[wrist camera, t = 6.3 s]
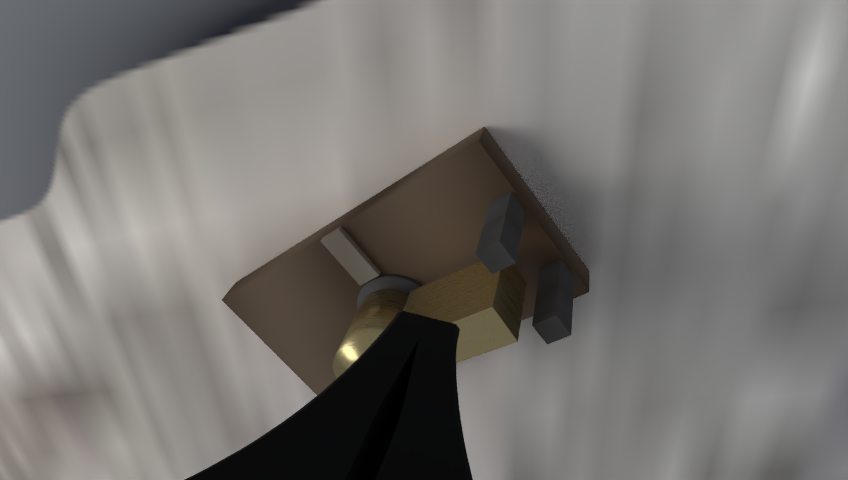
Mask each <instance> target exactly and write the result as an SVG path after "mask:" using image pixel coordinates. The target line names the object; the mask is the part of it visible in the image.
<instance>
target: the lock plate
mask: <svg viewBox="0 0 848 480" xmlns="http://www.w3.org/2000/svg"><path fill="white" fill-rule="evenodd" d="M479 261H482V263H483V264H484V265H485V266H486V268H487V269H488V270H489V271H490V273H491V274H494V273H496V272H498V271H500V270H502V269H504V268H506V267H508V266H511V265H513V264H514V265H515V266H516V267H517V269H518V270H519V272H520V273H521V275H522V276H523V278H524V279H525V281H526V282H527V284H526V290H525V297H524V303H523V310H522V316H521V320H524V319H526V318H528V317H531V316H533V315H534V316H533V324H532V326H533V327H534V328H535V330H536V331H537V332H538V333H539V335H540V336H541V337H542V338H543V340H544V341H545V342H546V343H547V344H549V343H552V342H554V341H557V340H559V339H562V338H564V337H567V336H570V335H571V329H572V308H573V298H576V297H578V296H580V295H583V294H585V293H587V292H589V271H588V269H587V268H586V267H585V265H584V264H583V262H582V261H581V260H580V258H579V257H578V256H577V254H576V253H575V251H574V250H573V249H572V247H571V246H570V244H569V243H568V242H567V240H566V239H565V238H564V236H563V235H562V233H561V232H560V231H559V229H558V228H557V226H556V225H555V224H554V222H553V221H552V220H551V218H550V217H549V215H548V214H547V213H546V211H545V210H544V208H543V207H542V206H541V204H540V203H539V201H538V200H537V199H536V197H535V196H534V195H533V193H532V192H531V190H530V189H529V188H528V186H527V185H526V183H525V182H524V181H523V179H522V178H521V177H520V175H519V174H518V172H517V171H516V170H515V168H514V167H513V165H512V164H511V163H510V161H509V160H508V159H507V157H506V156H505V154H504V153H503V152H502V150H501V149H500V147H499V146H498V145H497V143H496V142H495V140H494V139H493V138H492V136H491V135H490V134H489V132H488V131H487V129H486V128H485V127H483V128H482V129H480V130H478V131H477V132H475V133H474V134H472V135H470V136H469V137H467V138H466V139H464V140H462V141H461V142H459V143H458V144H456V145H454V146H453V147H451V148H450V149H448V150H446V151H445V152H443V153H442V154H440V155H439V156H437V157H435V158H434V159H432V160H431V161H429V162H427V163H426V164H424V165H423V166H421V167H419V168H418V169H416V170H415V171H413V172H411V173H410V174H408V175H407V176H405V177H403V178H402V179H400V180H399V181H397V182H395V183H394V184H392V185H391V186H389V187H388V188H386V189H384V190H383V191H381V192H380V193H378V194H376V195H375V196H373V197H372V198H370V199H368V200H367V201H365V202H364V203H362V204H360V205H359V206H357V207H356V208H354V209H352V210H351V211H349V212H348V213H346V214H344V215H343V216H341V217H340V218H338V219H336V220H335V221H333V222H332V223H330V224H329V225H327V226H325V227H324V228H322V229H321V230H319V231H317V232H316V233H314V234H313V235H311V236H309V237H308V238H306V239H305V240H303V241H301V242H300V243H298V244H297V245H295V246H293V247H292V248H290V249H289V250H287V251H285V252H284V253H282V254H281V255H279V256H277V257H276V258H274V259H273V260H271V261H270V262H268V263H266V264H265V265H263V266H262V267H260V268H258V269H257V270H255V271H254V272H252V273H250V274H249V275H247V276H246V277H244V278H242V279H241V280H239V281H238V282H236V283H235V284H234V285H233V287H232V288H231V289H230V290H229V291H228V293H227V294H226V295H225V296H224V298H223V299H222V301H223V302H224V303H225V304H226V305H227V306H228V307H229V308H230V309H231V310H232V311H233V312H234V313H235V314H236V315H237V316H238V317H239V318H240V319H241V320H242V321H243V322H244V323H245V324H246V325H247V326H248V327H249V328H250V329H251V330H252V331H253V332H254V333H255V334H256V335H257V336H258V337H259V338H260V339H261V340H262V341H263V342H264V343H265V344H266V345H267V346H268V347H269V348H270V349H271V350H272V351H273V352H274V353H275V354H276V355H277V356H278V357H279V358H280V359H281V360H282V361H283V362H284V363H285V364H286V365H287V366H288V367H289V368H290V369H291V370H292V371H293V372H294V373H295V374H296V375H297V376H298V377H299V378H300V379H301V380H302V381H303V382H304V383H305V384H306V385H307V386H308V387H309V388H310V389H311V390H312V391H313V392H314V393H315V394H316V395H319V394H320V393H321V392H322V391H323V390H324V389H326V388H327V387H328V386H329V385H330V384H331V383H332V382H333V381H335V380H336V377H335V375H334V372H333V359H334V357H335V355H336V353H337V351H338V349H339V347H340V345H341V343H342V341H343V339H344V337H345V335H346V333H347V331H348V329H349V327H350V325H351V323H352V321H353V319H354V317H355V315H356V313H357V311H358V309H359V307H360V305H361V303H362V301H363V299H364V298H365V297H366V296H367V295H368V294H370V293H371V292H373V291H376V290H380V289H394V290H398V291H401V292H404V293H406V294H408V295H409V294H410V291H412V290H415V289H417V288H419V287H422V286H424V285H426V284H428V283H431V282H433V281H435V280H438V279H440V278H442V277H445V276H447V275H449V274H452V273H454V272H456V271H458V270H461V269H463V268H465V267H468V266H470V265H472V264H475V263H477V262H479Z"/></svg>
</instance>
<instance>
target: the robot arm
mask: <svg viewBox="0 0 848 480" xmlns="http://www.w3.org/2000/svg"><path fill="white" fill-rule="evenodd" d="M459 332H460V329H459V327H458V326H457V325H456V324H454V323H450V322H446V321H442V320H438V319H434V318H430V317H426V316H422V315H418V314H414V313H410V312H406V311H401V312H399V313H397V314H396V316H395V317H394V318H393V320H392V321H391V322H390V323H389V325H388V326H387V327H386V328H385V330H384V331H383V332H382V333H381V334H380V335H379V337H378V338H377V339H376V340H375V341H374V342H373V343H372V344H371V345H370V346H369V348H368V349H367V350H366V351H365V352H364V353H363V354H362V355H361V356H360V357H359V358H358V359H357V360H356V361H355V362H354V363H353V364H352V365H351V366H350V367H349V368H348V369H347V370H346V371H345V372H344V373H342V374H341V375H340V376H339V377H338V378H337V379H336V380H335V381H333V382H332V383H331V384H330V385H329V386H328V387H327V388H326V389H324V390H323V391H322V392H321V393H320V394H319V395H317V396H316V397H315V398H314V399H313V400H311V401H310V402H309V403H308V404H306V405H305V406H304V407H303V408H301V409H300V410H299V411H297V412H296V413H295V414H293V415H292V416H291V417H289V418H288V419H287V420H285V421H284V422H282V423H281V424H279V425H278V426H276V427H275V428H273V429H272V430H270V431H269V432H267V433H266V434H265V435H263V436H262V437H260V438H259V439H257V440H255V441H254V442H252V443H251V444H249V445H247V446H246V447H244V448H242V449H241V450H239V451H237V452H235V453H234V454H232V455H230V456H228V457H226V458H225V459H223V460H221V461H219V462H218V463H216V464H214V465H212V466H210V467H209V468H207V469H205V470H203V471H201V472H199V473H197V474H195V475H193V476H191V477H189V478H187V479H185V480H473V479H472V475H471V471H470V466H469V462H468V458H467V453H466V448H465V443H464V438H463V432H462V426H461V419H460V412H459V404H458V392H457V380H456V350H457V342H458V337H459Z"/></svg>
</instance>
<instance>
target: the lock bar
mask: <svg viewBox="0 0 848 480" xmlns="http://www.w3.org/2000/svg"><path fill="white" fill-rule="evenodd" d="M526 284H527V282H526V281H525V279H524V278H523V276H522V275H521V273H520V272H519V270H518V269H517V267H516V266H515V265H514V264H513V265H511V266H508V267H506V268H504V269H502V270H500V271H498V272H496V273H494V274H491V273H490V271H489V270H488V269H487V268H486V266H485V265H484V264H483V263H482V261H479V262H477V263H475V264H472V265H470V266H468V267H465V268H463V269H461V270H458V271H456V272H454V273H452V274H449V275H447V276H445V277H442V278H440V279H438V280H435V281H433V282H431V283H428V284H426V285H424V286H422V287H419V288H417V289H415V290H412V291H410V294H409V295H408V294H406V293H404V292H401V291H398V290H394V289H380V290H376V291H373V292H371V293H370V294H368V295H367V296H366V297H365V298H364V299H363V301H362V303H361V305H360V307H359V309H358V311H357V313H356V315H355V317H354V319H353V321H352V323H351V325H350V327H349V329H348V331H347V333H346V335H345V337H344V339H343V341H342V343H341V345H340V347H339V349H338V351H337V353H336V355H335V357H334V359H333V372H334V375H335V377H336V379H337V378H338V377H339V376H340V375H341V374H342V373H344V372H345V371H346V370H347V369H348V368H349V367H350V366H351V365H352V364H353V363H354V362H355V361H356V360H357V359H358V358H359V357H360V356H361V355H362V354H363V353H364V352H365V351H366V350H367V349H368V348H369V346H370V345H371V344H372V343H373V342H374V341H375V340H376V339H377V338H378V337H379V335H380V334H381V333H382V332H383V331H384V330H385V328H386V327H387V326H388V325H389V323H390V322H391V321H392V320H393V318H394V317H395V316H396V314H397V313H399V312H401V311H406V312H410V313H414V314H418V315H422V316H426V317H430V318H434V319H438V320H442V321H446V322H450V323H454V324H456V325H457V326H458V327H459V329H460V332H459V337H458V342H457V350H456V363H457V362H460V361H463V360H466V359H469V358H472V357H474V356H477V355H480V354H483V353H486V352H489V351H492V350H495V349H497V348H500V347H503V346H506V345H509V344H512V343H515V342H517V341H518V336H519V329H520V323H521V316H522V310H523V303H524V297H525V290H526Z"/></svg>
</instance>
